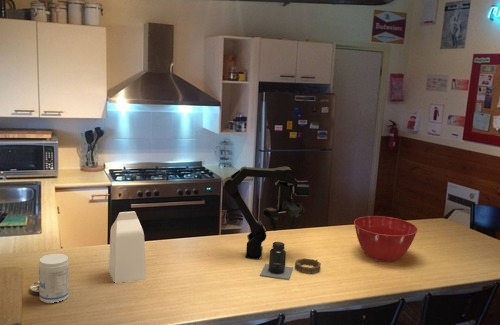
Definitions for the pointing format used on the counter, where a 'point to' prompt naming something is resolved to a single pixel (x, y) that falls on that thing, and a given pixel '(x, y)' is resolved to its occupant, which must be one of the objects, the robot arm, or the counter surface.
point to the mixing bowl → (384, 237)
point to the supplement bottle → (277, 258)
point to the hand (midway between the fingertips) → (282, 229)
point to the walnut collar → (307, 269)
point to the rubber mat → (284, 275)
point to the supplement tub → (53, 278)
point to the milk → (127, 249)
